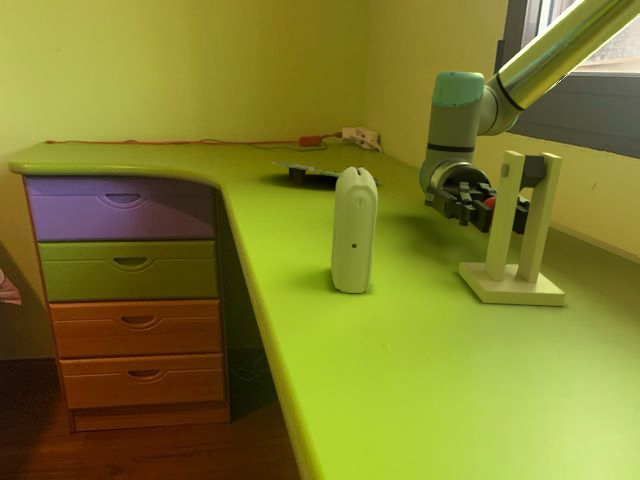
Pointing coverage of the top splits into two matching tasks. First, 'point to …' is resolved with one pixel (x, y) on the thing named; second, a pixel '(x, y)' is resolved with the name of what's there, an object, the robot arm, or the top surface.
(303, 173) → the city model
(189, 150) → the top surface
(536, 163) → the switch lever
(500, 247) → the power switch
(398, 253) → the top surface
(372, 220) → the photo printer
